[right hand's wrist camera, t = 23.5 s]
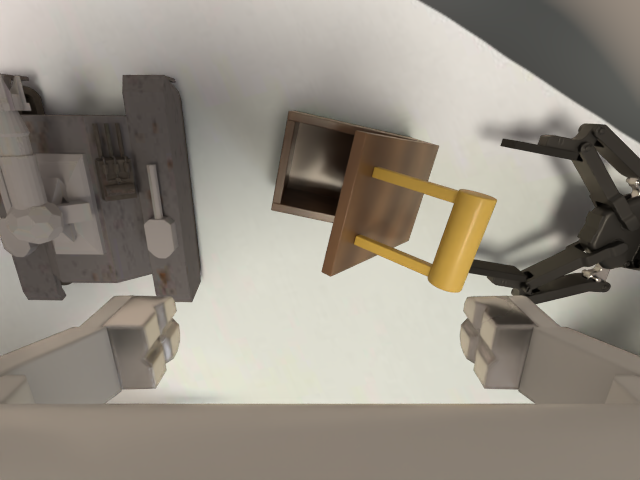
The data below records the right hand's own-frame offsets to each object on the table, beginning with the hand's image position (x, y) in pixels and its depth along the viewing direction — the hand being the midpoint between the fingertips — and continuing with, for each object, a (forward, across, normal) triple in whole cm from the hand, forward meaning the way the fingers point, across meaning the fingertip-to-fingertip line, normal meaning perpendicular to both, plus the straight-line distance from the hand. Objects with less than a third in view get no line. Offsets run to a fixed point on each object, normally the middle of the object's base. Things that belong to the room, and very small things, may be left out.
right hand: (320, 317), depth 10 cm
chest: (+35, -3, +1) cm, 35 cm away
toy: (+35, +26, +4) cm, 43 cm away
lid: (+20, -5, +1) cm, 20 cm away
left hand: (+28, -18, +4) cm, 34 cm away
